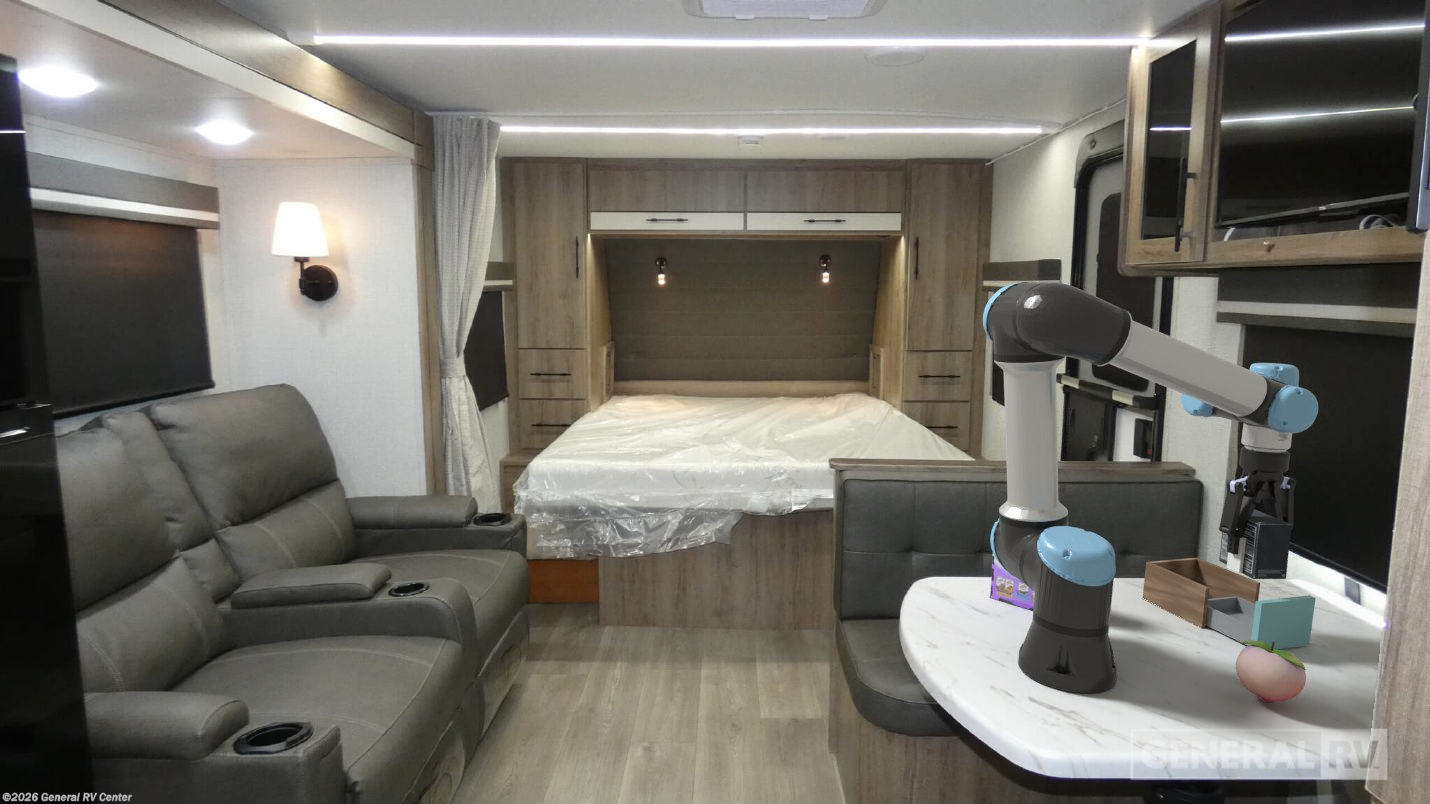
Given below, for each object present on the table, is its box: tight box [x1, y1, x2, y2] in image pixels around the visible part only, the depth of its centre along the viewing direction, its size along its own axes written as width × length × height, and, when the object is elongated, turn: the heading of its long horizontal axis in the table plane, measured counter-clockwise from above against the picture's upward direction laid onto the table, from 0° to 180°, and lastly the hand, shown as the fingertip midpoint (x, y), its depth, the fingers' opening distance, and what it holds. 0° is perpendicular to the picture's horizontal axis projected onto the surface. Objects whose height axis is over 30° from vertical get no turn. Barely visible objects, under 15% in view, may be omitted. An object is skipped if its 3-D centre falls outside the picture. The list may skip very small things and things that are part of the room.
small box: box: [1218, 508, 1292, 580], centre depth 151 cm, size 11×6×10 cm, turn 0°
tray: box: [1205, 594, 1317, 650], centre depth 152 cm, size 12×15×9 cm
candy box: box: [989, 521, 1035, 611], centre depth 164 cm, size 14×6×16 cm, turn 44°
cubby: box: [1142, 557, 1261, 629], centre depth 163 cm, size 13×15×8 cm
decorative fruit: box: [1235, 640, 1307, 703], centre depth 127 cm, size 9×8×10 cm
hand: (1251, 568), depth 152 cm, fingers closed on small box, 7 cm apart
